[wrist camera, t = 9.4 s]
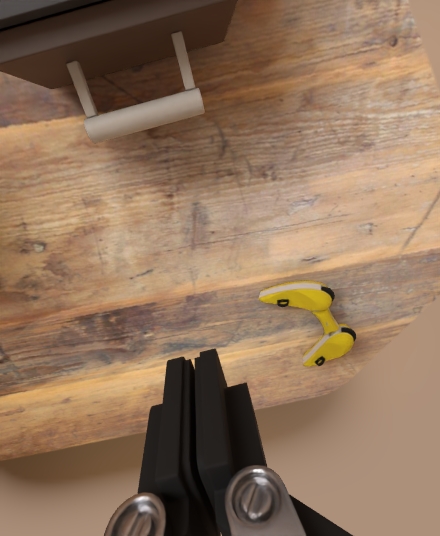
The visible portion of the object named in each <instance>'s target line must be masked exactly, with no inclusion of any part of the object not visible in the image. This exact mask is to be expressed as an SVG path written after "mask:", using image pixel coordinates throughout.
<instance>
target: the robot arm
mask: <svg viewBox="0 0 440 536" xmlns="http://www.w3.org/2000/svg"><path fill="white" fill-rule="evenodd" d="M220 532H221V533H220ZM221 534H222V536H353V535H351V534H350V533H348V532H346V531H345V530H343V529H342V528H340V527H339V526H337V525H336V524H334V523H333V522H331V521H330V520H328V519H326V518H325V517H323V516H322V515H320V514H319V513H317V512H316V511H314V510H313V509H311V508H309V507H308V506H306V505H305V504H303V503H302V502H300V501H299V500H297V499H296V498H294V497H292V496H291V495H289V494H288V492H287V489H286V487H285V485H284V483H283V481H282V480H281V478H280V476H279V475H278V474H277V473H275V472H274V471H273V470H272V469H270V468H267V464H266V460H265V455H264V451H263V447H262V442H261V438H260V434H259V430H258V425H257V421H256V417H255V413H254V409H253V405H252V401H251V397H250V394H249V390H248V386H247V383H243V384H239V385H235V386H231V387H227V383H226V380H225V377H224V374H223V370H222V367H221V364H220V360H219V357H218V354H217V351H216V349H211V350H207V351H203V352H200V357H197V358H195V369H194V367H193V364H192V361H191V359H189V360H185V358H184V357H179V358H175V359H171V360H168V361H167V366H166V376H165V386H164V395H163V404H159V405H155V406H152V407H151V409H150V413H149V420H148V427H147V434H146V441H145V447H144V454H143V461H142V467H141V474H140V481H139V488H138V494H136V495H134V496H132V497H130V498H129V499H127V500H126V501H125V502H124V503H122V504H121V505H120V506H119V507H118V508H117V510H116V511H115V513H114V514H113V515H112V517H111V519H110V521H109V523H108V526H107V528H106V531H105V533H104V536H221Z"/></svg>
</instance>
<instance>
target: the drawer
mask: <svg viewBox="0 0 440 536" xmlns="http://www.w3.org/2000/svg"><path fill="white" fill-rule="evenodd" d="M237 1H238V0H101V1H97V2H94V3H90V4H87V5H83V6H79V7H76V8H72V9H69V10H65V11H62V12H58V13H55V14H51V15H48V16H44V17H40V18H37V19H33V20H30V21H26V22H23V23H19V24H16V25H15V26H17V27H14V28H10V29H7V30H3V31H0V71H1V72H4V73H7V74H10V75H13V76H15V77H18V78H21V79H24V80H27V81H30V82H32V83H35V84H38V85H41V86H44V87H47V88H49V89H55V88H58V87H62V86H65V85H69V84H73V83H74V86H75V88H76V91H77V93H78V96H79V99H80V101H81V104H82V107H83V109H84V112H85V114H86V117H87V119H85V120H84V125H85V129H86V132H87V134H88V136H89V138H90V139H91V141H92V142H93V143H95V144H96V143H99V142H103V141H107V140H110V139H114V138H118V137H121V136H125V135H128V134H132V133H136V132H139V131H143V130H147V129H150V128H154V127H158V126H161V125H165V124H169V123H172V122H176V121H179V120H183V119H187V118H190V117H194V116H198V115H201V114H204V113H205V110H204V105H203V100H202V96H201V93H200V89H199V88H196V89H195V84H194V79H193V75H192V71H191V67H190V63H189V59H188V55H187V52H188V51H191V50H195V49H199V48H202V47H206V46H209V45H213V44H217V43H220V42H223V41H224V39H225V36H226V33H227V30H228V27H229V24H230V21H231V19H232V16H233V13H234V10H235V7H236V4H237ZM173 55H176V56H177V60H178V64H179V67H180V71H181V75H182V79H183V83H184V87H185V92H181V93H178V94H174V95H170V96H167V97H163V98H159V99H156V100H152V101H149V102H145V103H141V104H138V105H134V106H130V107H127V108H123V109H120V110H116V111H112V112H109V113H105V114H101V115H98V112H97V110H96V107H95V104H94V101H93V99H92V96H91V93H90V90H89V88H88V85H87V82H86V80H87V79H91V78H94V77H98V76H101V75H105V74H109V73H112V72H116V71H119V70H123V69H127V68H130V67H134V66H137V65H141V64H145V63H148V62H152V61H155V60H159V59H163V58H166V57H170V56H173Z"/></svg>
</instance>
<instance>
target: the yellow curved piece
mask: <svg viewBox="0 0 440 536" xmlns="http://www.w3.org/2000/svg"><path fill="white" fill-rule="evenodd" d="M334 296H335V295H334V292H333V291H332V290H331V289H330V288H328V287H327V286H326V285H324V284H322V283H319V282H315V281H296V282H289V283H284V284H280V285H276V286H273V287H270V288H267V289H264V290H262V291H261V292H260V296H259V300H260V301H262V302H265V303H274V304H277V305H278V306H280V307H286V306H294V307H300V308H304V309H307V310H310V311H311V312H312V313H313V314H314V315H316V316H317V317H318V319H319V320H320V322H321V323H322V325H323V328H324V334H323V336H322V337H321V338H320V339H319V340H318V341H317V342H316V343H315V345H314V346H313V347H312V348H311V349H309V350H308V351H307V352H306V353H305V354H304V356H303V365H304V366H314V365H318V366H321V365H322V364H323V363H324V362H325V361H327V360H330V359H334V358H338V357H341V356H343V355H344V354H346V353H347V352H348V351H349V350H350V349H351V348H352V346H353V343H354V341H355V339H356V333H355V332H354V331H353V330H352V329H351V328H350V327H349V326H348V325H346V324H338V323H337V321H336V320H335V318H334V317H333V315H332V314H331V311H330V309H329V307H330V305H331V302H332V301H333V300H334Z"/></svg>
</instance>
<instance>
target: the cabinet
mask: <svg viewBox="0 0 440 536" xmlns="http://www.w3.org/2000/svg"><path fill="white" fill-rule="evenodd" d="M97 1H101V0H0V31H3V30H7V29H10V28H14V27H17V26H15V25H16V24H19V23H23V22H26V21H30V20H33V19H37V18H40V17H44V16H48V15H51V14H55V13H58V12H62V11H65V10H69V9H72V8H76V7H79V6H83V5H87V4H90V3H94V2H97Z"/></svg>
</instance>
